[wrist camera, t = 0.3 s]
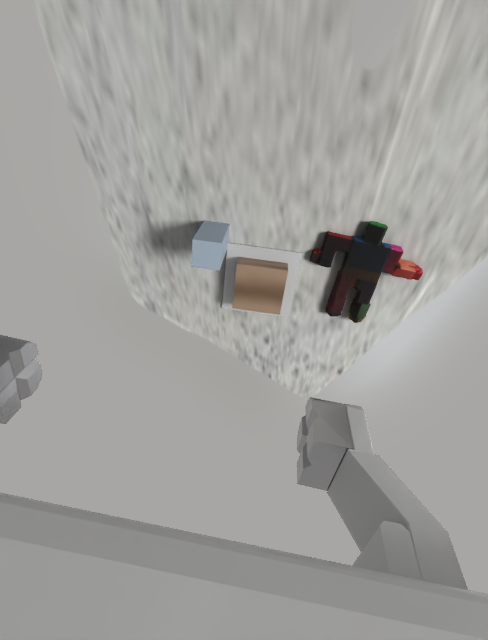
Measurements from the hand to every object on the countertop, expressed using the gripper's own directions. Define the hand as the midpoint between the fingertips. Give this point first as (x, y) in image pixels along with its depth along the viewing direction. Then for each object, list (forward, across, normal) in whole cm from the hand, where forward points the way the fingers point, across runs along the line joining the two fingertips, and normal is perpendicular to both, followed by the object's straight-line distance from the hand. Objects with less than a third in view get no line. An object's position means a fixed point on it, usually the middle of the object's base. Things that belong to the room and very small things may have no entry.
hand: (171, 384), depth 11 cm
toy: (+48, -17, +14) cm, 53 cm away
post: (+47, +6, +12) cm, 49 cm away
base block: (+47, -2, +19) cm, 51 cm away
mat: (+47, -2, +19) cm, 51 cm away
